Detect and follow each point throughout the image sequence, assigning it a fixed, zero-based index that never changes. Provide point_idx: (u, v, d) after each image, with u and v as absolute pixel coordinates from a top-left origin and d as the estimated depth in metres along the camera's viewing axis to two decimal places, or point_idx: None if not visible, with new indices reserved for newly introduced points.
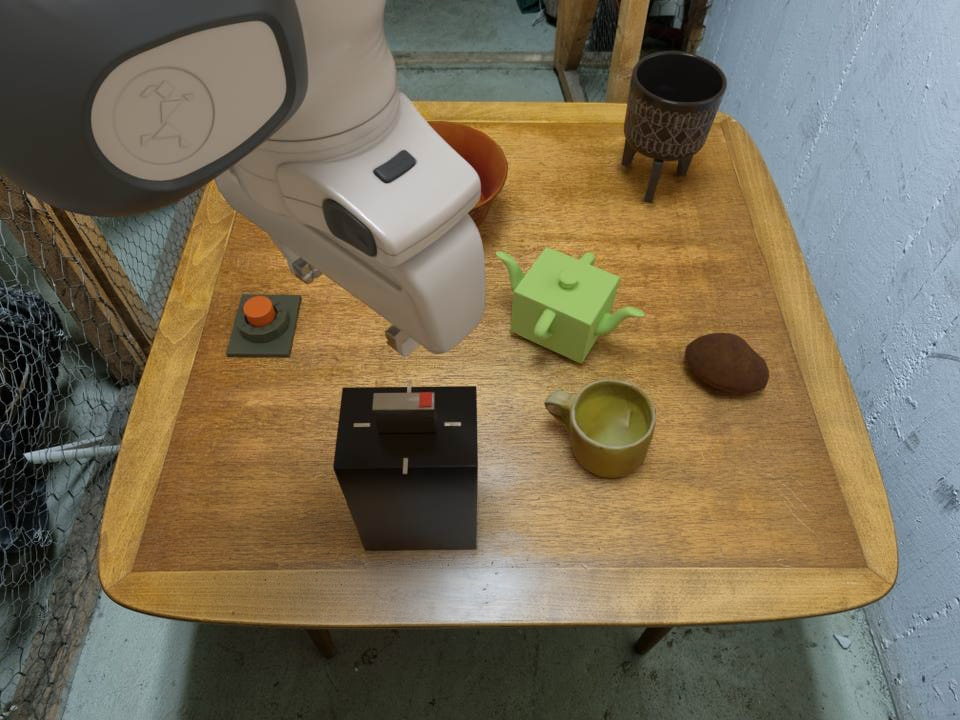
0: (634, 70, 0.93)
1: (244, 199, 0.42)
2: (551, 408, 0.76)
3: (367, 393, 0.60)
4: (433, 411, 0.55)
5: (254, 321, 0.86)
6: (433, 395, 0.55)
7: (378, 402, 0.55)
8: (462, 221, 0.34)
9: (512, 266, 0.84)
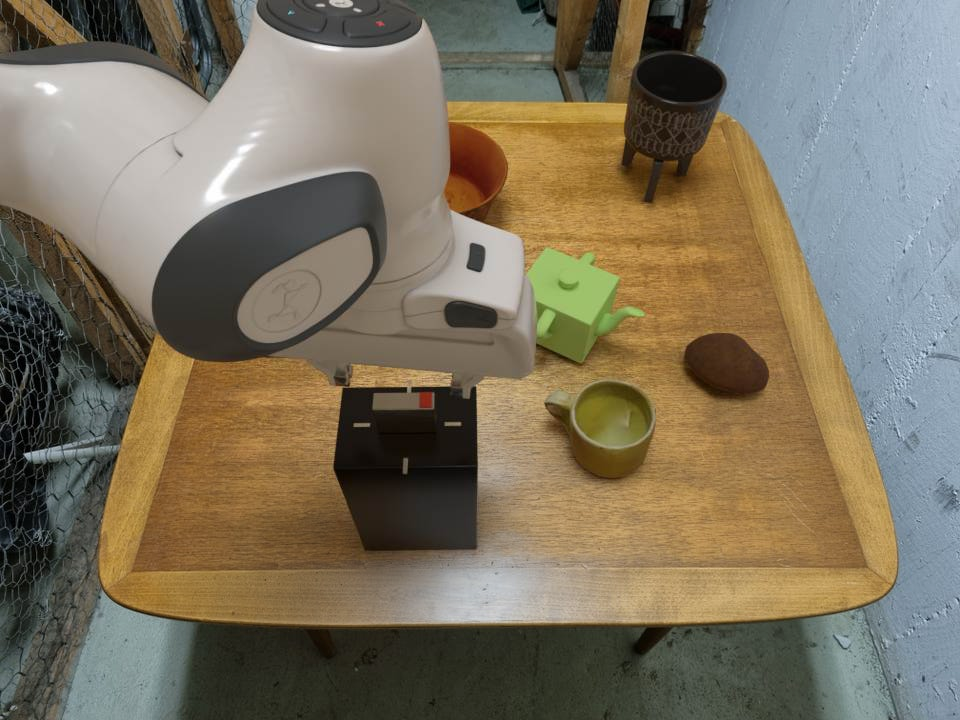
0: (634, 70, 0.93)
1: None
2: (551, 409, 0.76)
3: (367, 393, 0.60)
4: (433, 411, 0.55)
5: None
6: (433, 395, 0.55)
7: (378, 402, 0.55)
8: None
9: None
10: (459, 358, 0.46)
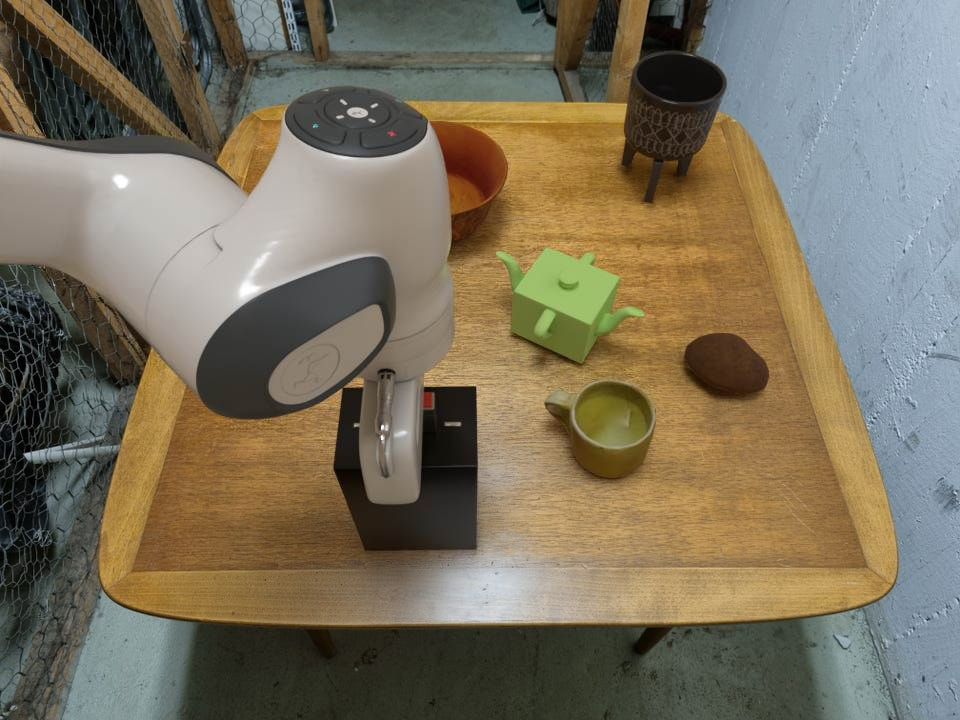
0: (634, 70, 0.93)
1: (419, 448, 0.48)
2: (551, 409, 0.76)
3: None
4: (433, 411, 0.55)
5: None
6: (433, 395, 0.55)
7: None
8: None
9: (512, 266, 0.84)
10: None
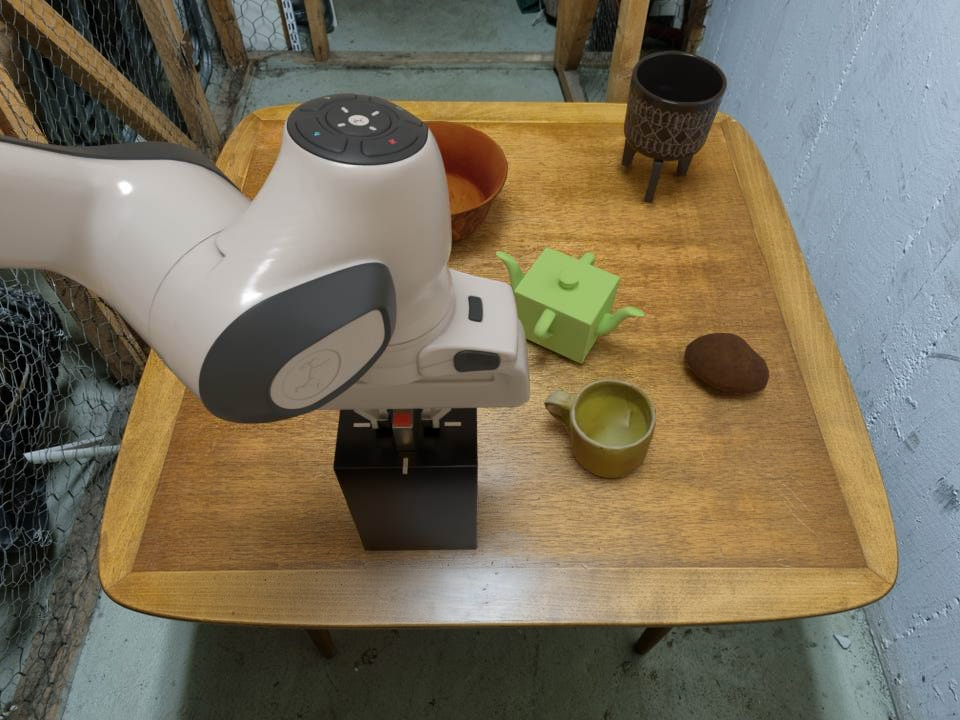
0: (634, 70, 0.93)
1: None
2: (551, 409, 0.76)
3: None
4: (393, 429, 0.54)
5: None
6: (408, 426, 0.53)
7: None
8: None
9: (512, 266, 0.84)
10: (463, 395, 0.51)
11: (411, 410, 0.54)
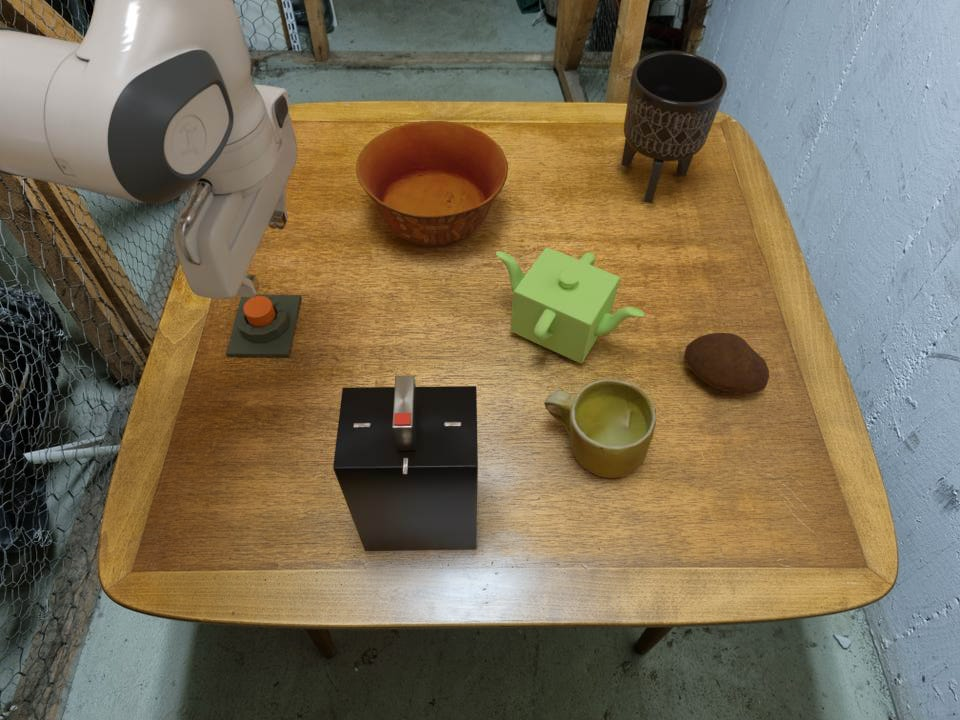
0: (634, 70, 0.93)
1: (239, 258, 0.59)
2: (551, 409, 0.76)
3: (367, 393, 0.60)
4: (393, 429, 0.54)
5: (254, 321, 0.86)
6: (408, 426, 0.53)
7: (402, 379, 0.56)
8: None
9: (512, 266, 0.84)
10: (280, 173, 0.66)
11: (411, 410, 0.54)
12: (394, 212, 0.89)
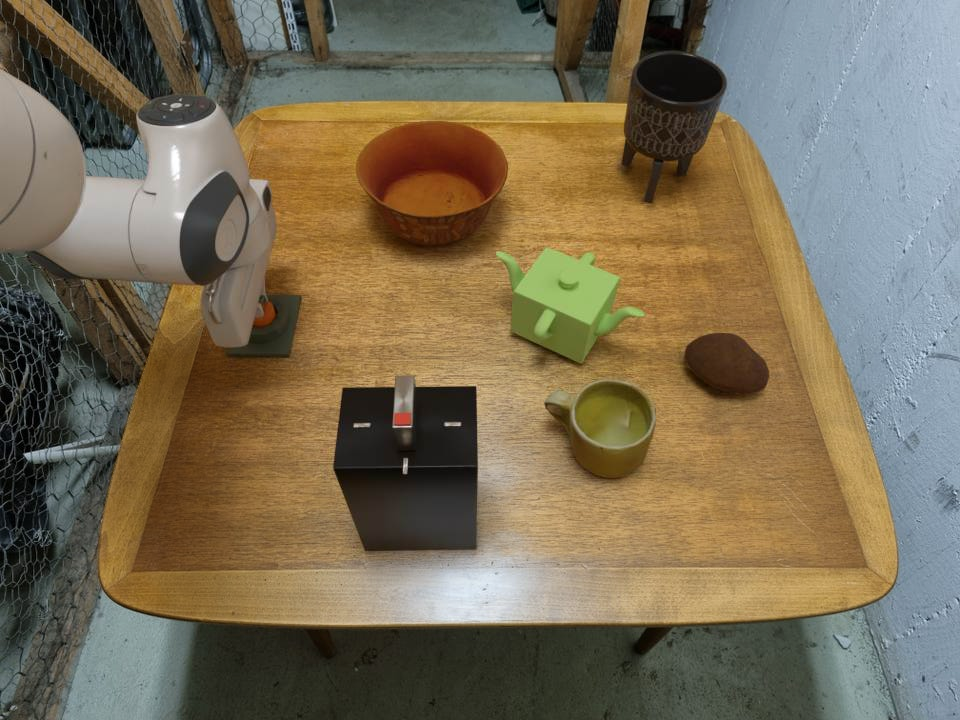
0: (634, 70, 0.93)
1: (248, 314, 0.77)
2: (551, 409, 0.76)
3: (367, 393, 0.60)
4: (393, 429, 0.54)
5: (255, 324, 0.86)
6: (408, 426, 0.53)
7: (402, 379, 0.56)
8: None
9: (512, 266, 0.84)
10: None
11: (411, 410, 0.54)
12: (394, 212, 0.89)
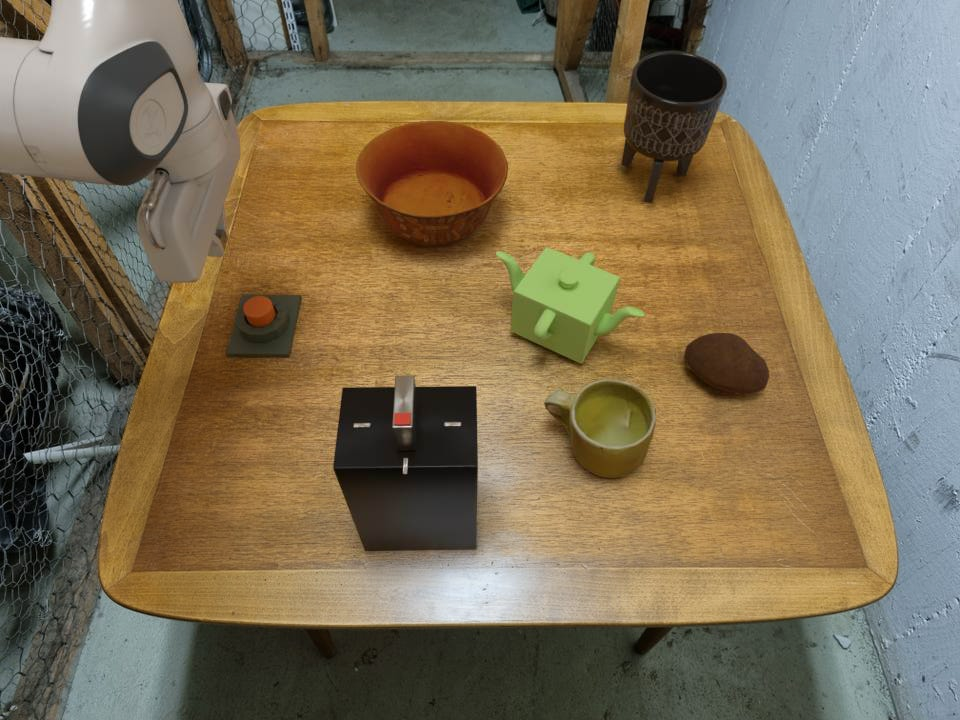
0: (634, 70, 0.93)
1: (200, 243, 0.63)
2: (551, 409, 0.76)
3: (367, 393, 0.60)
4: (393, 429, 0.54)
5: (254, 321, 0.86)
6: (408, 426, 0.53)
7: (402, 379, 0.56)
8: None
9: (512, 266, 0.84)
10: (227, 165, 0.70)
11: (411, 410, 0.54)
12: (394, 212, 0.89)
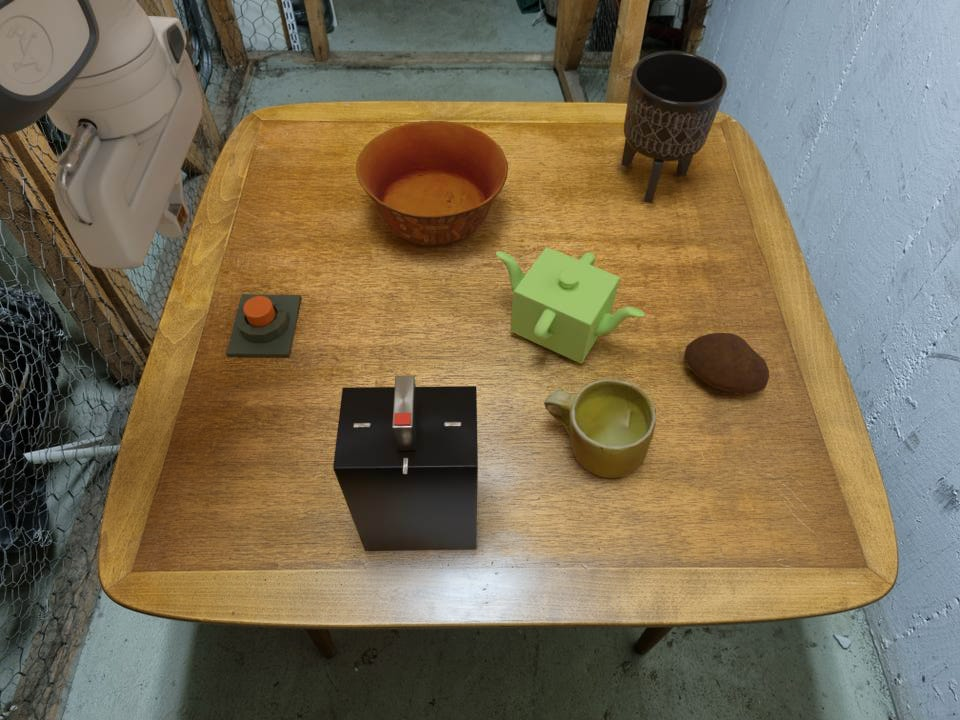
0: (634, 70, 0.93)
1: (142, 218, 0.49)
2: (551, 409, 0.76)
3: (367, 393, 0.60)
4: (393, 429, 0.54)
5: (254, 321, 0.86)
6: (408, 426, 0.53)
7: (402, 379, 0.56)
8: None
9: (512, 266, 0.84)
10: (183, 123, 0.56)
11: (411, 410, 0.54)
12: (394, 212, 0.89)
